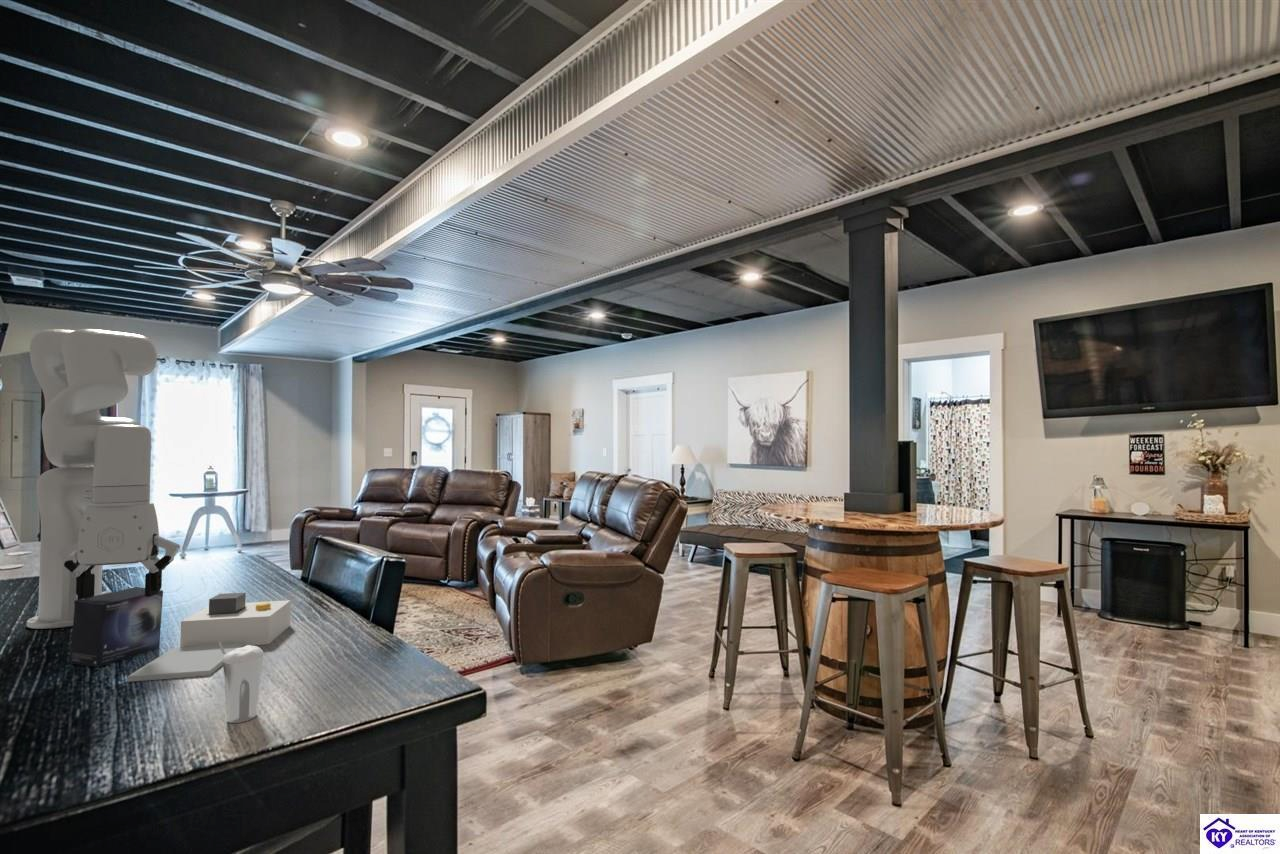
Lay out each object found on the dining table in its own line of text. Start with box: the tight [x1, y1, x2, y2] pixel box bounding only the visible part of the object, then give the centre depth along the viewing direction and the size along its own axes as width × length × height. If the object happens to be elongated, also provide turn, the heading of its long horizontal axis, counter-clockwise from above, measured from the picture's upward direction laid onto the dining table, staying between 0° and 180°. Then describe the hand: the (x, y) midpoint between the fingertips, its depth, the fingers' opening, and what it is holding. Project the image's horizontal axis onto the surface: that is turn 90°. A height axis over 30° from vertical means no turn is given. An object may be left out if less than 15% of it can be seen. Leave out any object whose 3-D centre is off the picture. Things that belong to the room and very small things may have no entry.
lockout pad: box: [126, 643, 245, 683], centre depth 101 cm, size 14×11×1 cm
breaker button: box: [208, 592, 247, 615], centre depth 115 cm, size 4×4×6 cm
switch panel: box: [179, 599, 292, 647], centre depth 115 cm, size 12×14×6 cm
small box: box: [68, 586, 164, 668], centre depth 105 cm, size 11×6×10 cm, turn 169°
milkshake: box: [218, 642, 265, 724], centre depth 81 cm, size 4×5×10 cm
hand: (119, 597), depth 105 cm, fingers open, 9 cm apart
